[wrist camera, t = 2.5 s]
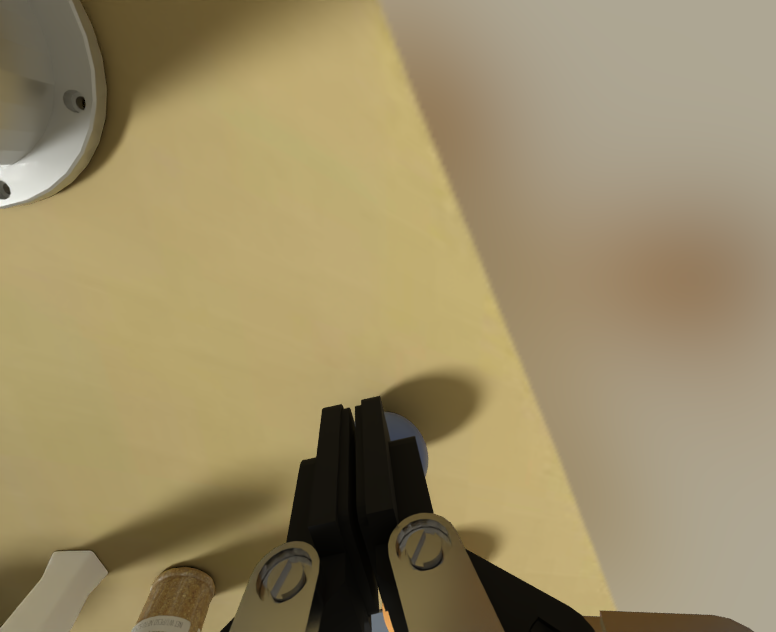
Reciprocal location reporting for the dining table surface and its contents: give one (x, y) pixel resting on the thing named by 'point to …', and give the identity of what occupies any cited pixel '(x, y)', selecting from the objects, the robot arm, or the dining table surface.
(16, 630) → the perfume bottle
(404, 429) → the blue ball
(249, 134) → the dining table surface
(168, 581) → the sprinkles bottle
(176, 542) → the dining table surface
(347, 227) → the dining table surface
